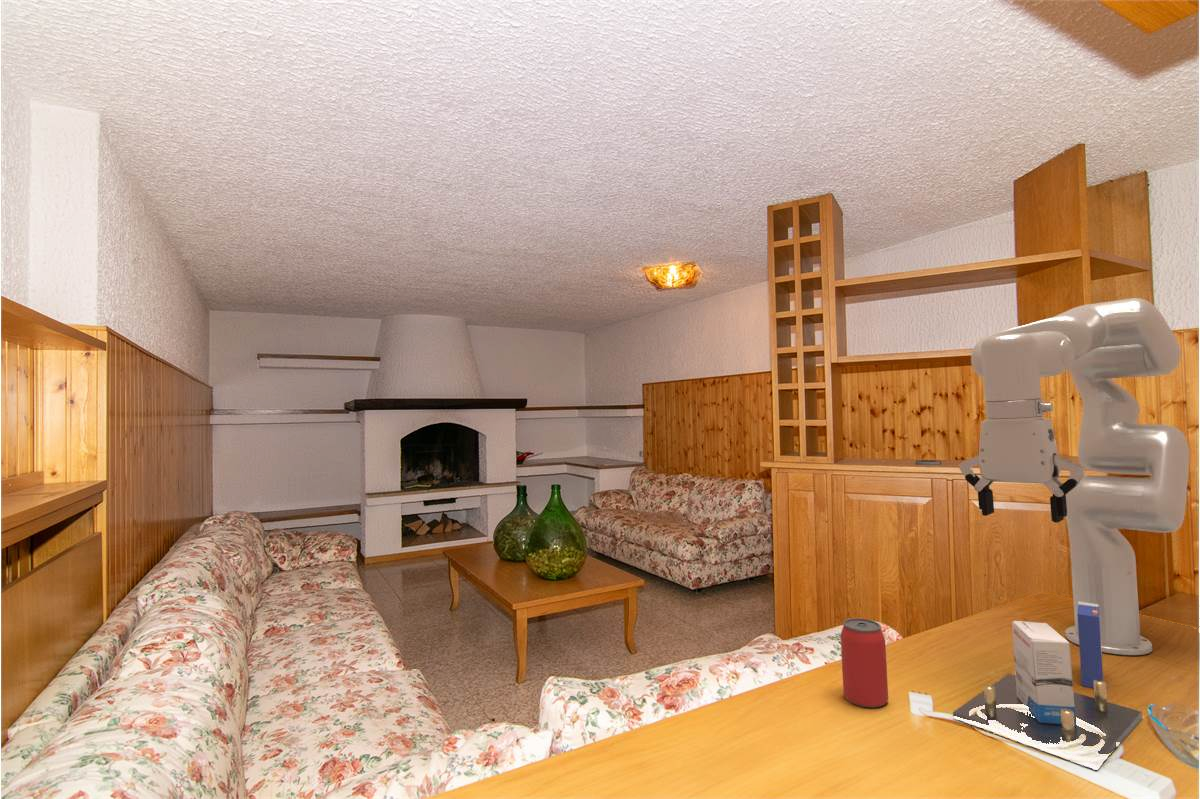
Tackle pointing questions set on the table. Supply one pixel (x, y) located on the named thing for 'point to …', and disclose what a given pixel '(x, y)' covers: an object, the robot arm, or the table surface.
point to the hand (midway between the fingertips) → (1021, 517)
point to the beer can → (864, 663)
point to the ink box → (1043, 671)
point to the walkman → (1089, 643)
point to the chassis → (1088, 709)
